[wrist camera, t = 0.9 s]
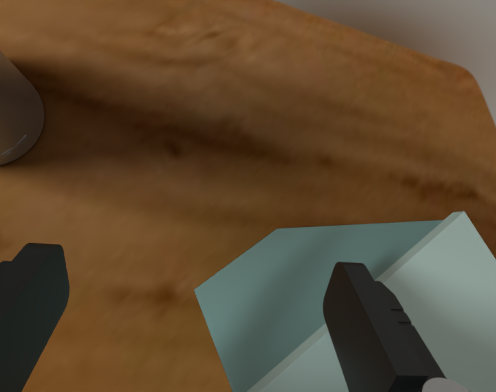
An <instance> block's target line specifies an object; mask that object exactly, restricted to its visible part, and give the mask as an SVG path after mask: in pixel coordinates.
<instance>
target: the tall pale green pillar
mask: <svg viewBox="0 0 496 392" xmlns="http://www.w3.org/2000/svg"><path fill="white" fill-rule="evenodd" d="M337 262H354V263H363V264H364V265H365V266H366V267H367V269H368V271H369V272H370V274H371V276H372V278H373V279H374V281H380V282H382V283H383V284H384V285H385V286H386V287H387V288H388V289H389V290H390V291H391V292H393V293H394V294H395V296H396V298H397V299H398V301H399V302H400V304H401V306H402V307H403V309H404V312H406V314H407V315H408V317H409V319H410V320H411V322H412V323H411V324H412V325H414V327H415V328H416V330H417V332H418V333H419V335H420V336H421V338H422V340H423V341H424V343H425V344H426V346H427V348H428V349H429V351H430V353H431V354H432V356H433V357H434V359H435V361H436V362H437V364H438V365H439V367H440V369H441V370H442V372H443V374H444V375H445V377H446V378H447V379H449V380H452V381H454V382H456V383H459V384H460V385H462V386H464V387H465V388H467V389H468V390H469V391H471V392H496V259H495V258H494V256H493V255H492V253H491V252H490V250H489V249H488V247H487V245H486V244H485V242H484V241H483V239H482V238H481V236H480V235H479V233H478V232H477V230H476V229H475V227H474V225H473V224H472V222H471V221H470V219H469V218H468V216H467V215H466V213H465V212H464V211H463V212H453V213H452V214H450V215H449V216H448V217H447V218H446V219H445V220H436V221H417V222H397V223H378V224H358V225H339V226H319V227H300V228H281V229H276V230H275V231H273V232H272V233H270V234H269V235H268V236H266V237H265V238H264V239H262V240H261V241H260V242H258V243H257V244H256V245H254V246H253V247H251V248H250V249H249V250H247V251H246V252H245V253H243V254H242V255H241V256H239V257H238V258H237V259H235V260H234V261H233V262H231V263H230V264H228V265H227V266H226V267H224V268H223V269H222V270H220V271H219V272H218V273H216V274H215V275H214V276H212V277H211V278H209V279H208V280H207V281H205V282H204V283H203V284H201V285H200V286H199V287H197V288H196V289H195V290H194V291H195V294H196V297H197V299H198V302H199V304H200V307H201V310H202V312H203V315H204V318H205V320H206V323H207V325H208V328H209V331H210V333H211V336H212V339H213V341H214V344H215V346H216V349H217V352H218V354H219V357H220V360H221V362H222V365H223V367H224V370H225V373H226V375H227V378H228V381H229V383H230V386H231V388H232V391H233V392H349V390H348V387H347V384H346V381H345V378H344V375H343V372H342V369H341V366H340V363H339V361H338V358H337V355H336V352H335V349H334V346H333V343H332V340H331V337H330V334H329V331H328V328H327V325H326V322H325V319H324V315H323V299H324V296H325V293H326V290H327V287H328V284H329V281H330V278H331V275H332V272H333V269H334V266H335V264H336V263H337Z"/></svg>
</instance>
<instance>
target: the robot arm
mask: <svg viewBox="0 0 496 392" xmlns="http://www.w3.org/2000/svg"><path fill="white" fill-rule="evenodd" d="M44 116H45V114H44V107H43V103H42V100H41V98H40V96H39V94H38V92H37V91H36V89H35V88H34V86H33V85H32V84H31V83H30V82H29V81H28V80H27V79H26V78H25V77H24V75H23V74H22V73H21V72H20V71H19V70H18V69H17V68H16V67H15V66H14V65H13V64H12V62H11V61H10V60H9V59H8V58H7V57H6V56H5V55H4V54H3V53H2V52H1V51H0V165H3V164H6V163H9V162H11V161H13V160H16V159H17V158H19V157H20V156H22V155H23V154H25V153H26V152H27V151H28V150H29V149H30V148H31V147H32V146H33V145H34V144H35V143H36V141H37V139H38V138H39V136H40V134H41V131H42V128H43V125H44ZM69 290H70V289H69V280H68V275H67V269H66V263H65V257H64V251H63V248H62V246H61V245H58V244H41V243H28V244H26V245H25V246H24V247H23V248H22V250H21V251H20V252H19V253H18V254H17V256H16V257H15V258H14V259H13V260H12V261H2V262H1V263H0V392H21V391H22V389H23V388H24V386H25V384H26V382H27V380H28V378H29V376H30V374H31V372H32V371H33V369H34V367H35V365H36V363H37V361H38V359H39V357H40V355H41V353H42V352H43V350H44V348H45V346H46V344H47V342H48V340H49V338H50V336H51V335H52V333H53V331H54V329H55V327H56V325H57V323H58V321H59V319H60V317H61V316H62V314H63V312H64V310H65V308H66V305H67V302H68V298H69ZM323 315H324V319H325V322H326V325H327V328H328V331H329V334H330V337H331V340H332V343H333V346H334V349H335V352H336V355H337V358H338V361H339V363H340V366H341V369H342V372H343V375H344V378H345V381H346V384H347V387H348V390H349V392H471V391H469V390H468V389H467V388H465V387H464V386H462V385H460V384H459V383H456V382H454V381H452V380H449V379H447V378H446V377H445V375H444V374H443V372H442V370H441V369H440V367H439V365H438V364H437V362H436V361H435V359H434V357H433V356H432V354H431V353H430V351H429V349H428V348H427V346H426V344H425V343H424V341H423V340H422V338H421V336H420V335H419V333H418V332H417V330H416V328H415V327H414V325H412V324H411V323H412V322H411V320H410V319H409V317H408V315H407V314H406V312H404V309H403V307H402V306H401V304H400V302H399V301H398V299H397V298H396V296H395V294H394V293H393V292H391V291H390V290H389V289H388V288H387V287H386V286H385V285H384V284H383V283H382V282H380V281H374V279H373V278H372V276H371V274H370V272H369V271H368V269H367V267H366V266H365V265H364V264H363V263H354V262H337V263H336V264H335V266H334V269H333V272H332V275H331V278H330V281H329V284H328V287H327V290H326V293H325V296H324V299H323Z"/></svg>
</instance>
